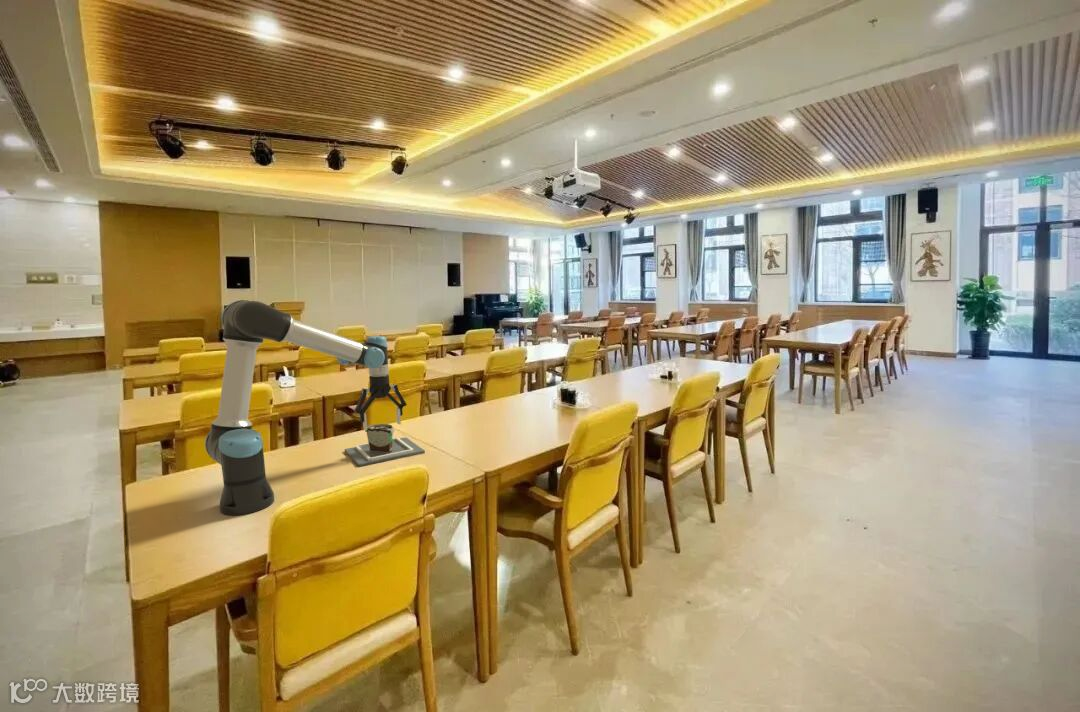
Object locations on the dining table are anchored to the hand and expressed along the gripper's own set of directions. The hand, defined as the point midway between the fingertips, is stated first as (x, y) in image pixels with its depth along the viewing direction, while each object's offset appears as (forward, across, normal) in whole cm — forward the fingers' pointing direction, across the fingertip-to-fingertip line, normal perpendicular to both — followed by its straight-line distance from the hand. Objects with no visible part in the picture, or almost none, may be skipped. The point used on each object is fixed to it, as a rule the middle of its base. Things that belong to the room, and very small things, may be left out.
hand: (382, 426), depth 212 cm
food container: (+10, 0, 0) cm, 10 cm away
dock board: (+11, 0, 0) cm, 11 cm away
